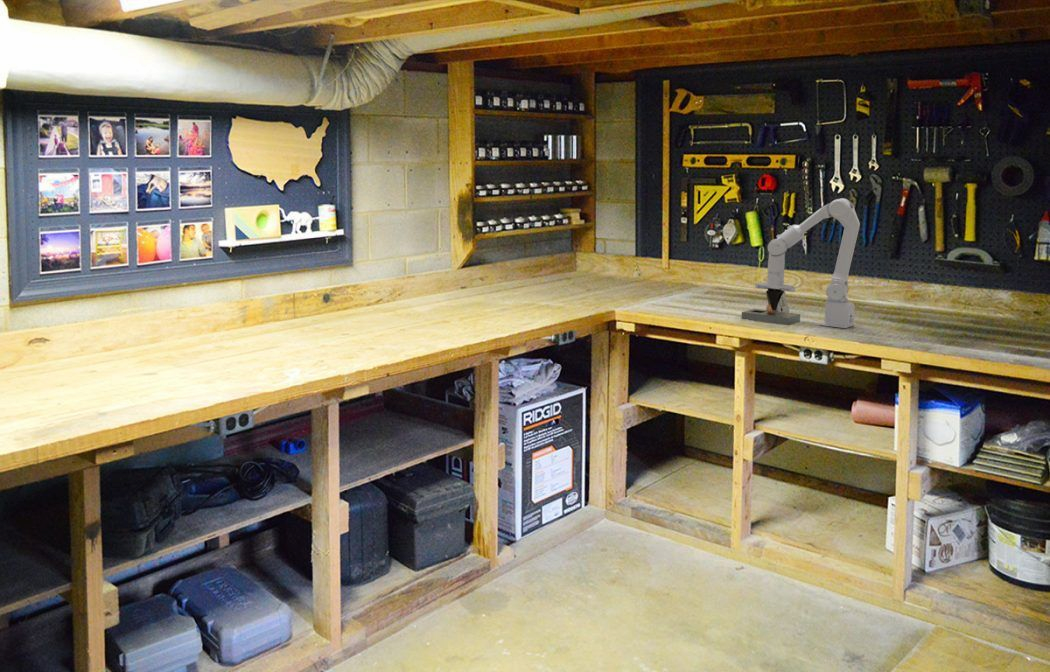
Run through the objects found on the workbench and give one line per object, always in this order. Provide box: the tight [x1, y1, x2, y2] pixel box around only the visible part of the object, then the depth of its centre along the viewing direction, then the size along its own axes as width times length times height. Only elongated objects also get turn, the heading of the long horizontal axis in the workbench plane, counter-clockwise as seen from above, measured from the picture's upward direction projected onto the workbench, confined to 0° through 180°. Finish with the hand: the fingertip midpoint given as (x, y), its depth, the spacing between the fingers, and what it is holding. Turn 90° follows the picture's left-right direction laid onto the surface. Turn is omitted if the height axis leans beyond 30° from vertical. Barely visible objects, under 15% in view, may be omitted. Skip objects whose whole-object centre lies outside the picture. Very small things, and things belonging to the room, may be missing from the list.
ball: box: [765, 304, 775, 313], centre depth 344 cm, size 3×3×3 cm
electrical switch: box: [766, 291, 790, 313], centre depth 357 cm, size 9×5×9 cm, turn 141°
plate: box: [740, 308, 801, 326], centre depth 344 cm, size 18×10×2 cm, turn 50°
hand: (773, 309), depth 343 cm, fingers closed, pressing on ball
